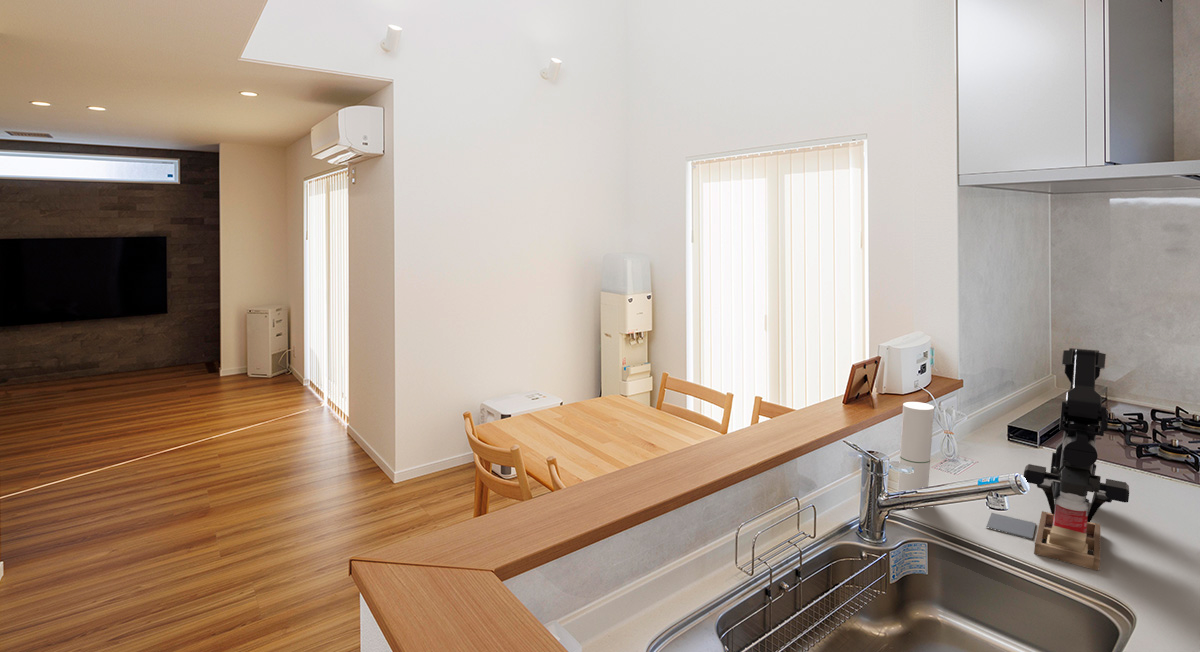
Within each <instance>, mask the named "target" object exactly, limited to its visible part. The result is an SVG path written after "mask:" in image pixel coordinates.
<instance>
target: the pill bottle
mask: <svg viewBox="0 0 1200 652" xmlns="http://www.w3.org/2000/svg"><path fill="white" fill-rule="evenodd" d="M1060 495H1061V496H1059V497H1057V498H1055V508H1054V517H1053V525H1054V526H1058V527H1061V528H1065V529H1069V530H1073V531H1077V532H1081V533H1085V534H1087V533H1086V530H1087V521H1088V513H1089V509H1090V505H1089V502H1086V501H1084V500H1085V499H1087V496H1085V497H1082V496H1078V495H1075V494H1070V493H1063V492H1061V491H1060ZM1053 525H1052V526H1053Z"/></svg>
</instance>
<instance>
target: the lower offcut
mask: <svg viewBox="0 0 1200 652" xmlns="http://www.w3.org/2000/svg"><path fill="white" fill-rule="evenodd" d="M1049 539H1050V535H1049V534H1048V538H1047V539H1046V544H1048V545H1052V546H1056V547H1060V548H1064V549H1068V550H1072V551H1076V552H1080V553H1084V554H1088V550H1087V549H1088V544H1085V549H1084V552H1082V551H1078V550H1074V549H1071V548H1067V547H1063V546H1060V545H1056V544H1052V543H1049Z"/></svg>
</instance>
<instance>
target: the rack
mask: <svg viewBox="0 0 1200 652" xmlns="http://www.w3.org/2000/svg"><path fill="white" fill-rule="evenodd" d="M1053 517H1054V514H1052V513H1051V512H1048V511H1044V510H1042V511H1041V514H1040V518H1039V519H1040V520H1039V523H1038V524H1039V525H1038V528H1037V532H1036V537H1035V542H1034V551H1033V554H1034V555H1037V554H1038V556H1041V555H1042V557H1045V556H1046V557H1045V558H1048V557H1049V559H1052V558H1054V559H1053V560H1056V559H1058V560H1057V561H1060V560H1061V562H1064V561H1065V562H1064V563H1067V562H1069V563H1068V564H1072V565H1075V566H1079V567H1083V568H1087V569H1091V570H1093V571H1098V572H1099V571H1100V565H1101V564H1100V563H1101V534H1102V533H1101V527H1102V525H1101V523H1097V522H1092V521H1090V522H1087V530H1086V534H1087V535H1088V534H1089V535H1091V536H1093V537H1090V536H1086V544H1088V549H1087V551H1091V552H1092V554H1088V553H1087V554H1084V553H1080V552H1076V551H1072V550H1068V549H1064V548H1060V547H1056V546H1052V545H1048V544H1047V543H1044V542H1043V539H1044V540H1047V538H1048V534H1049V535H1050V531H1051V528H1052V527H1048V526H1047V525H1051V526H1053ZM1046 524H1047V525H1046Z"/></svg>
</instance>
